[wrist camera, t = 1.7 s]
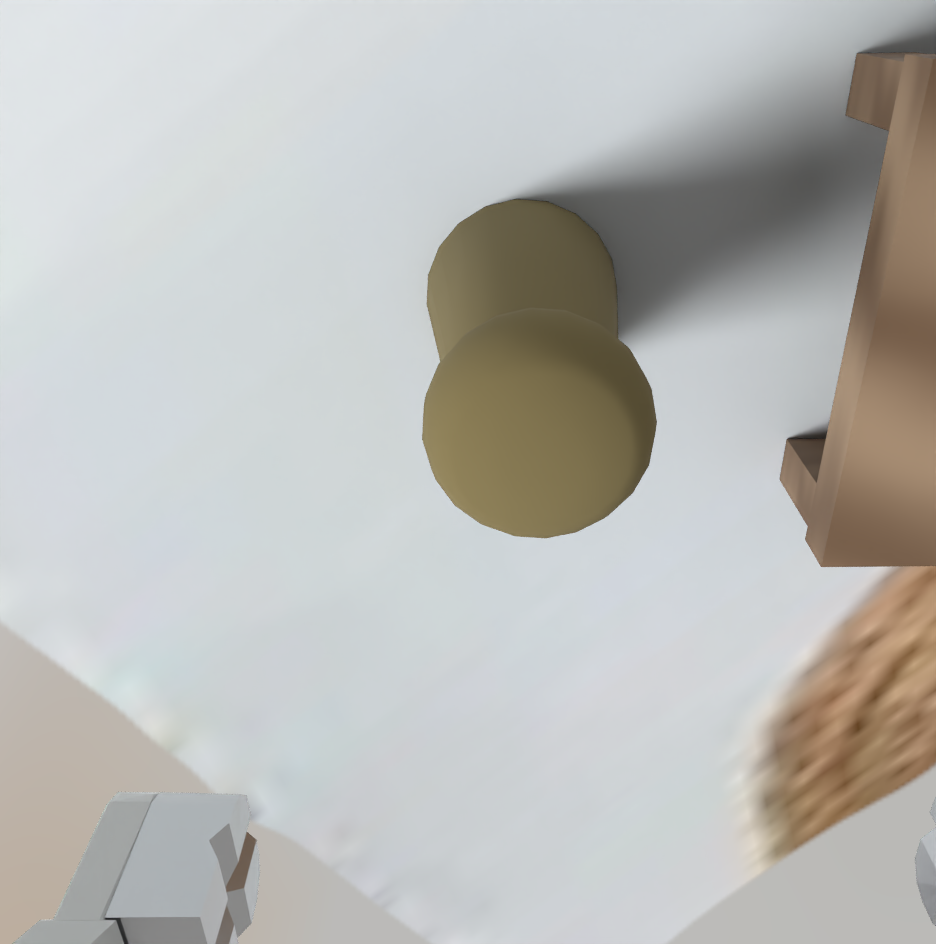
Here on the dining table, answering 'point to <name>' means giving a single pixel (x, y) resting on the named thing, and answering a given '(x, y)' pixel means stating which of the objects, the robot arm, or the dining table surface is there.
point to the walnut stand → (883, 349)
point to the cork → (532, 374)
